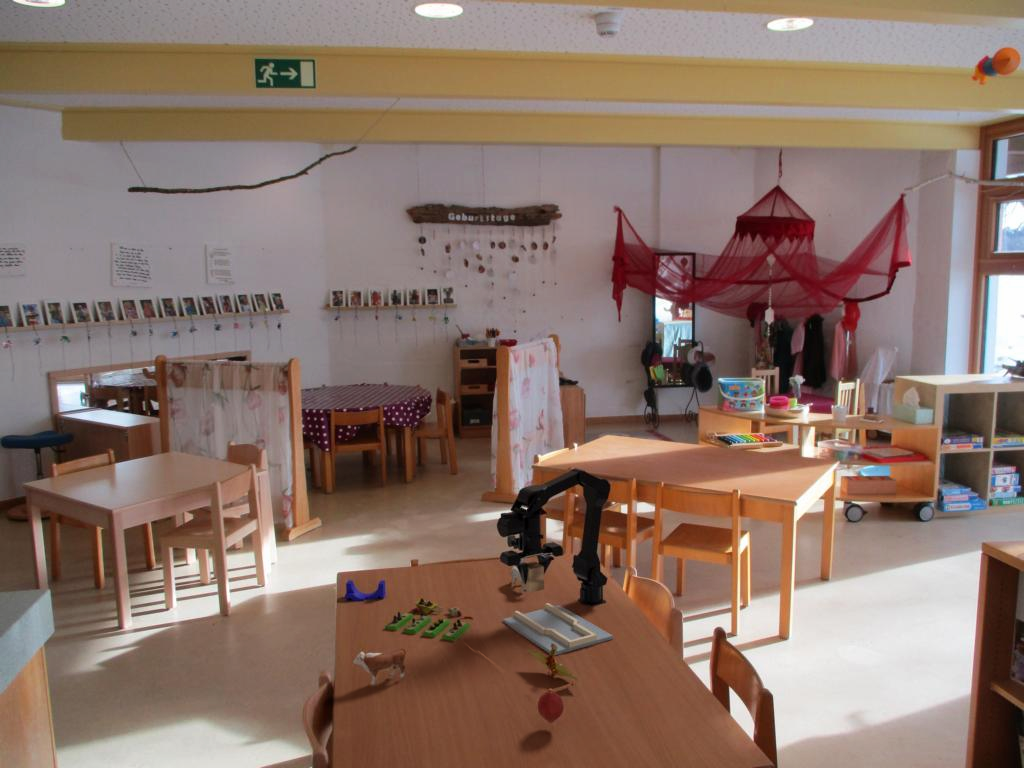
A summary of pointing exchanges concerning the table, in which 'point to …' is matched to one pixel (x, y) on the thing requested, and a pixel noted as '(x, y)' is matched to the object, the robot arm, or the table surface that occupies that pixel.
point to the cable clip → (358, 596)
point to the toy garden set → (423, 621)
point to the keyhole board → (557, 629)
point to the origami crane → (552, 662)
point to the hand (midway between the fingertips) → (532, 581)
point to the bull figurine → (382, 662)
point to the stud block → (534, 577)
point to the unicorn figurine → (515, 576)
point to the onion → (550, 706)
